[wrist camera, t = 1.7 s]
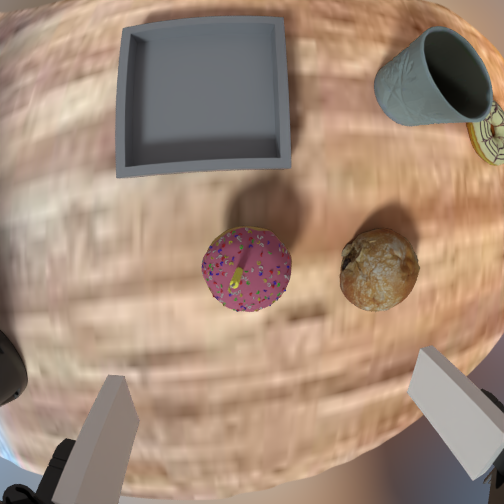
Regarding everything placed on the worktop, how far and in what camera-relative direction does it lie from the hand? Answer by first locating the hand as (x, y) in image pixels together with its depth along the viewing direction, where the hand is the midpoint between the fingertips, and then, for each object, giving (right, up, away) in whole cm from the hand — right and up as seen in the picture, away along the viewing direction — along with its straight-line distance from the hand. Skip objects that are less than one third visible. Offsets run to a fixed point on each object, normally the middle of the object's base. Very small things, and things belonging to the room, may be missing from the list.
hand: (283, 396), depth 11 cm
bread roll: (+14, +4, +24) cm, 28 cm away
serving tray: (-7, +23, +17) cm, 29 cm away
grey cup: (+17, +26, +18) cm, 36 cm away
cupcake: (-2, +5, +22) cm, 23 cm away
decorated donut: (+34, +25, +21) cm, 47 cm away
